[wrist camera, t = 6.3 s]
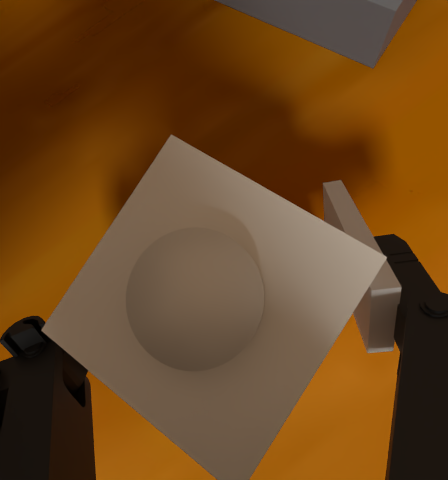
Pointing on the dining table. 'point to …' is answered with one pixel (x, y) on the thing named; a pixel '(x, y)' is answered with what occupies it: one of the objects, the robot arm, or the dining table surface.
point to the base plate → (334, 22)
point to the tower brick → (212, 306)
